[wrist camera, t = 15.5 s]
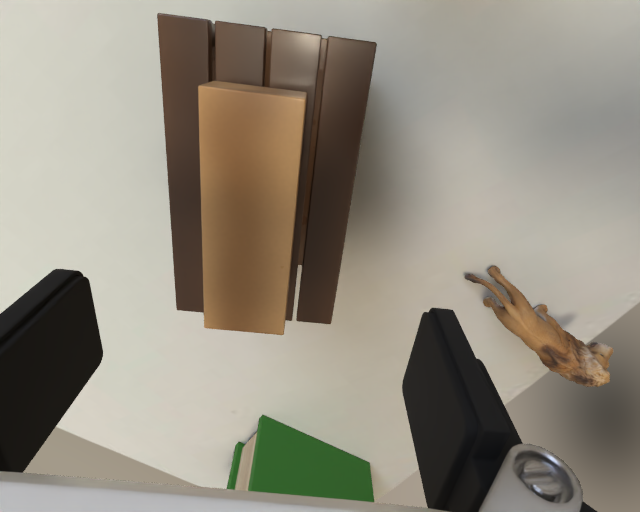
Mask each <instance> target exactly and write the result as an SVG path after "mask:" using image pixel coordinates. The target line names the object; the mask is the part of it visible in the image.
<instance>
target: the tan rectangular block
mask: <svg viewBox="0 0 640 512" xmlns="http://www.w3.org/2000/svg"><path fill="white" fill-rule="evenodd" d="M306 103H307V93H306V92H301V91H293V90H285V89H277V88H269V87H261V86H253V85H245V84H237V83H230V82H222V81H212V82H209V83H205V84H202V85H199V86H198V105H199V143H200V181H201V220H202V258H203V296H204V327H205V328H210V329H221V330H232V331H243V332H254V333H265V334H277V335H283V334H284V328H285V320H286V311H287V302H288V292H289V281H290V271H291V260H292V250H293V239H294V229H295V218H296V208H297V197H298V187H299V176H300V166H301V155H302V145H303V134H304V124H305V113H306Z"/></svg>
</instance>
